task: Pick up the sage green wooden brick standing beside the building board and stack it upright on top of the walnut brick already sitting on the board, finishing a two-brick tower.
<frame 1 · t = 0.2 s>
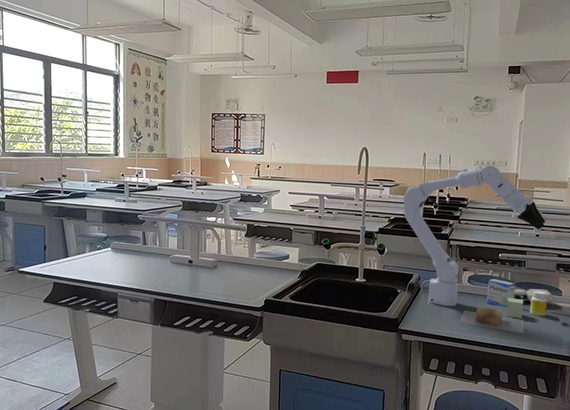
hand: (542, 225, 158), 31 cm above the table, tool tilted 45°, fingers open, 7 cm apart
walnut brick: (488, 320, 155), point 1 cm above the table, touching building board
robot toy: (528, 302, 182), on the table
supplement bottle: (537, 317, 164), on the table
sage brick: (513, 318, 162), on the table
building board: (491, 324, 155), on the table
medicine box: (499, 305, 177), on the table
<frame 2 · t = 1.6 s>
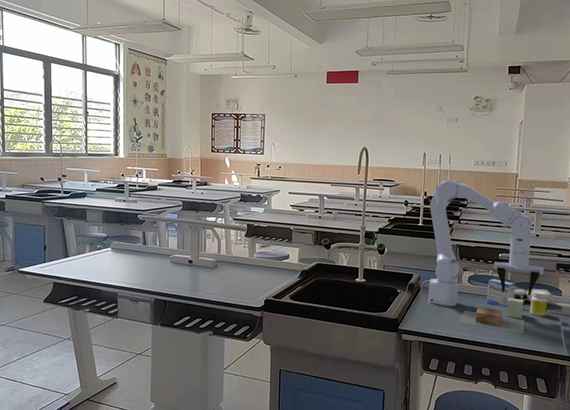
hand: (516, 292, 161), 8 cm above the table, tool pointing down, fingers open, 7 cm apart
nothing on the table moved.
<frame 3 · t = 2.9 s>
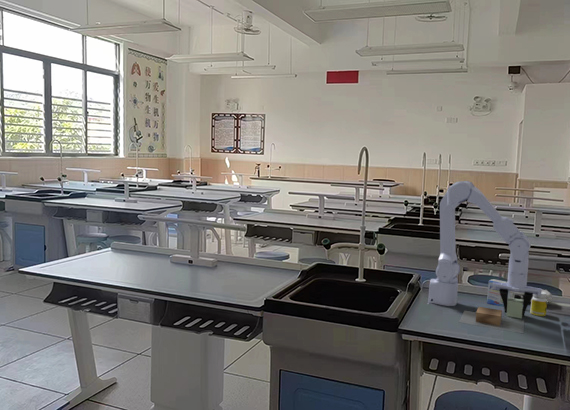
hand: (514, 313, 162), 2 cm above the table, tool pointing down, fingers closed on sage brick, 4 cm apart
sage brick: (513, 318, 162), on the table, touching gripper
everything else where it was.
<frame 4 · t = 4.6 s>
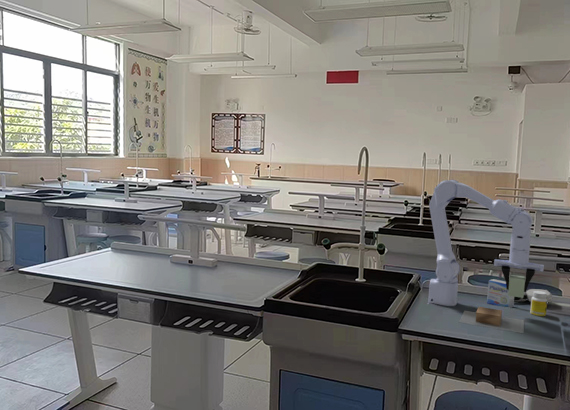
hand: (516, 290, 161), 9 cm above the table, tool pointing down, fingers closed on sage brick, 4 cm apart
sage brick: (515, 295, 161), point 8 cm above the table, touching gripper
everything else where it was.
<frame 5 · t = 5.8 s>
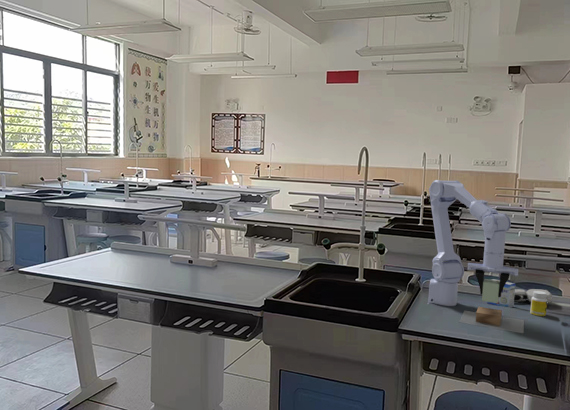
hand: (490, 295, 154), 9 cm above the table, tool pointing down, fingers closed on sage brick, 4 cm apart
sage brick: (490, 300, 154), point 8 cm above the table, touching gripper
everything else where it was.
when the fingers open (7 cm above the table, at t = 6.7 s): sage brick drops 1 cm, resting on walnut brick.
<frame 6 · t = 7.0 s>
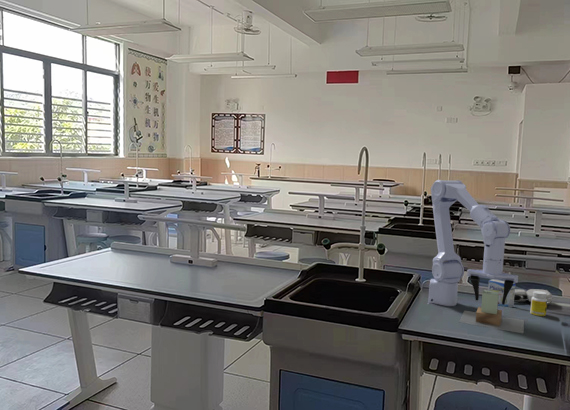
hand: (490, 301, 155), 7 cm above the table, tool pointing down, fingers open, 7 cm apart
walnut brick: (488, 320, 155), point 1 cm above the table, touching building board, sage brick
sage brick: (489, 311, 155), point 4 cm above the table, touching walnut brick
everything else where it was.
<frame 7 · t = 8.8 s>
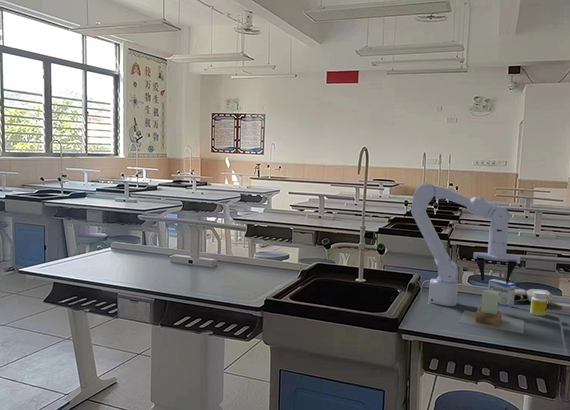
hand: (494, 281, 167), 10 cm above the table, tool pointing down, fingers open, 7 cm apart
nothing on the table moved.
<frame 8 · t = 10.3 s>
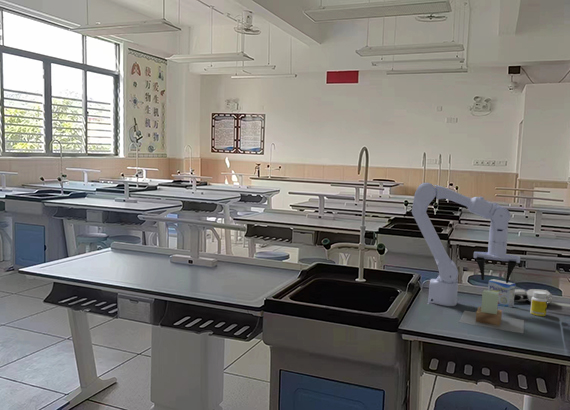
hand: (494, 280, 168), 10 cm above the table, tool pointing down, fingers open, 7 cm apart
nothing on the table moved.
at the end: sage brick 0.0 cm off-centre on the walnut brick, point 3.0 cm above the walnut brick's base; sage brick tilted 0°; the gripper is holding nothing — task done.
